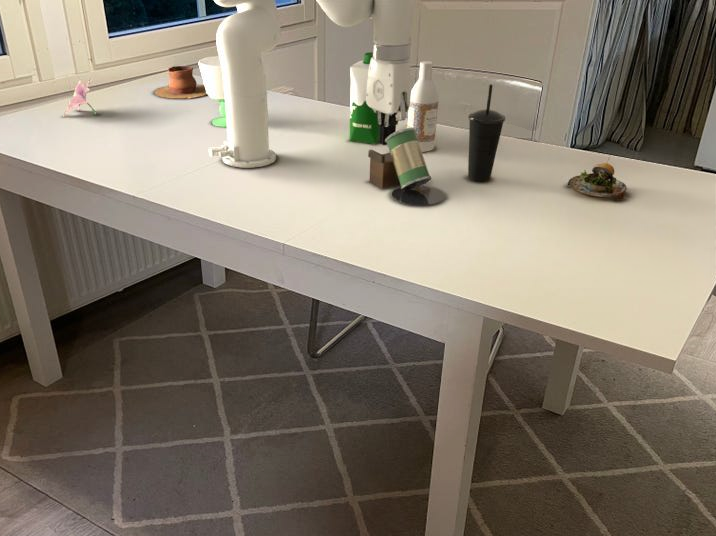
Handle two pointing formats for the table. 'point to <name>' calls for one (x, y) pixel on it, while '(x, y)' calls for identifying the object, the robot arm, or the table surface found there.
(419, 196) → the coaster
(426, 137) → the bath foam
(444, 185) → the table surface
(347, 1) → the robot arm
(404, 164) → the can
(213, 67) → the cup
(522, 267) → the table surface
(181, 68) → the ceramic pot
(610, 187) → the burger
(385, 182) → the rest
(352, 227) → the table surface
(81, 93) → the lily
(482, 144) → the drinking cup
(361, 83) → the milk carton
